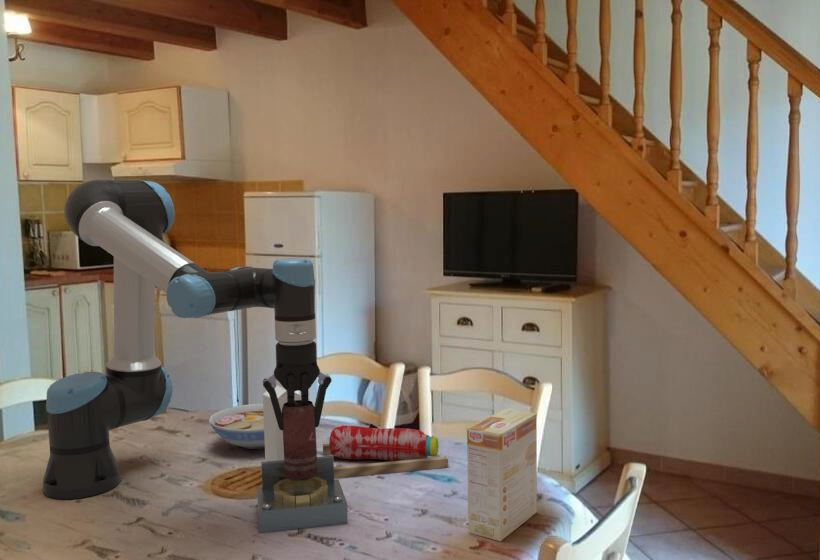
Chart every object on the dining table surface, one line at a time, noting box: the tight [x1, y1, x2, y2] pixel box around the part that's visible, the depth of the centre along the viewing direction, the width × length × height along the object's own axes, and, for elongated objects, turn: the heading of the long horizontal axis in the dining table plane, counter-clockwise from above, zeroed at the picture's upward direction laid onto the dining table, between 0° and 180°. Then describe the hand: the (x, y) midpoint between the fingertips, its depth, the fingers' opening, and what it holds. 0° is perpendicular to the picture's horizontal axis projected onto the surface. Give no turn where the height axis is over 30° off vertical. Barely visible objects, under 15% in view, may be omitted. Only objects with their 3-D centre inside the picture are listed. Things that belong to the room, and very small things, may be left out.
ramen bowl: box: [208, 403, 265, 450], centre depth 185 cm, size 25×23×8 cm
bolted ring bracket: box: [256, 455, 348, 534], centre depth 143 cm, size 16×12×9 cm
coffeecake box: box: [466, 407, 538, 542], centre depth 137 cm, size 15×7×20 cm, turn 145°
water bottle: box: [328, 423, 440, 462], centre depth 174 cm, size 12×8×25 cm
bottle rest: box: [322, 434, 449, 479], centre depth 173 cm, size 26×18×2 cm
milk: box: [262, 380, 301, 462], centre depth 160 cm, size 6×6×22 cm
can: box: [282, 400, 318, 481], centre depth 141 cm, size 6×6×14 cm
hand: (299, 464), depth 142 cm, fingers closed
